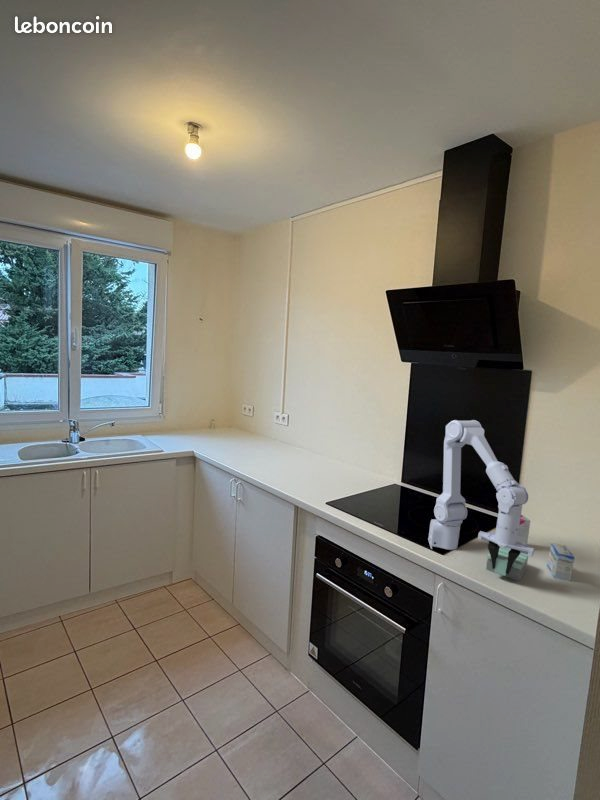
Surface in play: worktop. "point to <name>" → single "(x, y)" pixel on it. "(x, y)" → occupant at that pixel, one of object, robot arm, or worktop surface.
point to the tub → (513, 573)
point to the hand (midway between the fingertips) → (500, 570)
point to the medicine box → (560, 562)
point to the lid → (503, 561)
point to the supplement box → (523, 530)
